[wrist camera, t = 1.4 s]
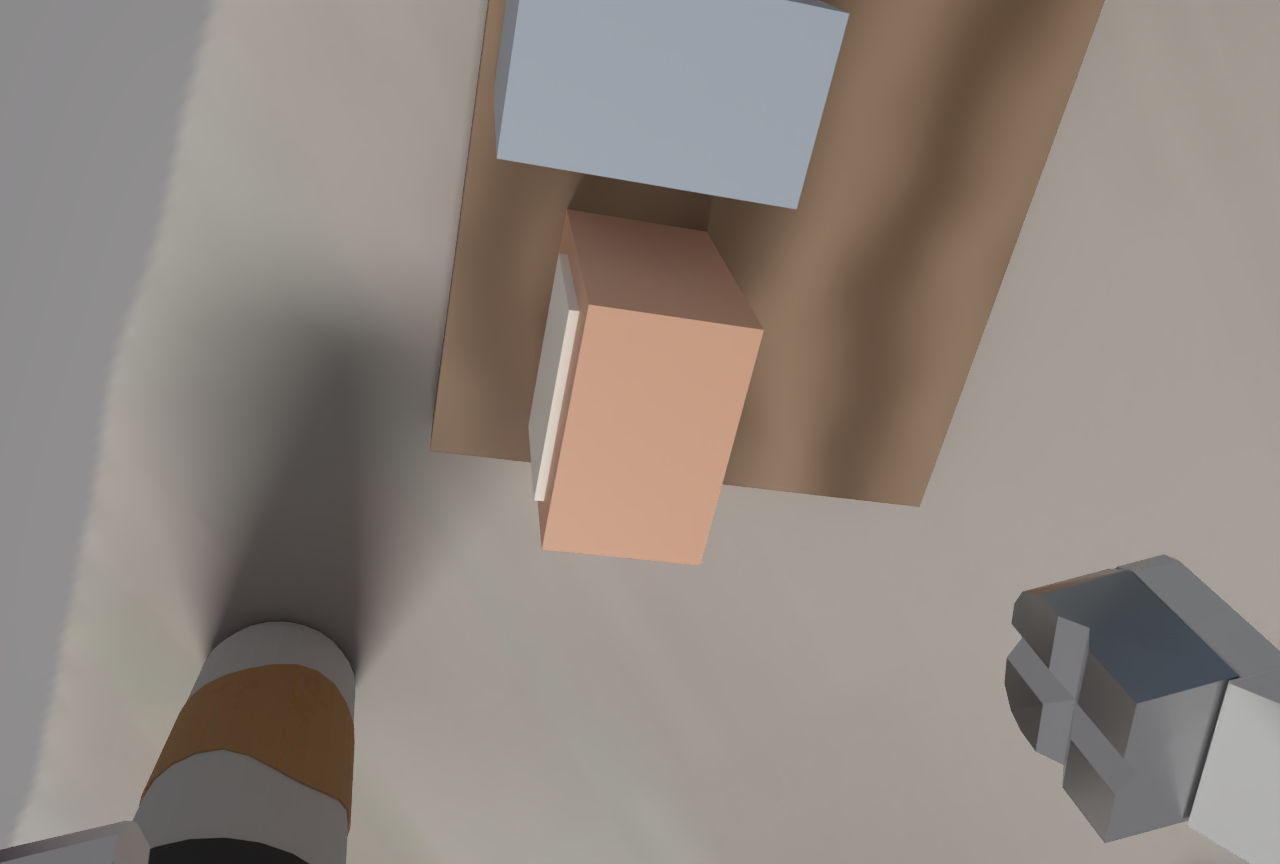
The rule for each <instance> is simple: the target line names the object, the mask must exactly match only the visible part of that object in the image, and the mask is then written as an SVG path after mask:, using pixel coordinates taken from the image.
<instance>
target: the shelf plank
mask: <svg viewBox="0 0 1280 864" xmlns="http://www.w3.org/2000/svg"><path fill="white" fill-rule="evenodd" d="M821 1H823V2H825V3H827V4H830V5H832V6H834V7H836V8H838V9H841V10H843V11H845V12H847V13H849V17H848V21H847V25H846V28H845V32H844V36H843V39H842V43H841V47H840V51H839V54H838V58H837V62H836V65H835V69H834V73H833V76H832V80H831V84H830V88H829V91H828V95H827V99H826V102H825V106H824V110H823V113H822V117H821V121H820V125H819V128H818V132H817V136H816V139H815V143H814V147H813V150H812V154H811V158H810V161H809V165H808V169H807V173H806V176H805V180H804V184H803V187H802V191H801V195H800V198H799V202H798V206H797V209H791V208H785V207H779V206H773V205H767V204H762V203H756V202H750V201H744V200H738V199H732V198H726V197H720V196H714V195H709V194H703V193H697V192H691V191H685V190H679V189H673V188H667V187H662V186H656V185H650V184H644V183H638V182H632V181H626V180H620V179H614V178H609V177H603V176H597V175H591V174H585V173H579V172H573V171H567V170H562V169H556V168H550V167H544V166H538V165H532V164H526V163H520V162H514V161H509V160H503V159H497V155H496V132H495V109H494V84H495V76H496V69H497V62H498V55H499V48H500V40H501V33H502V26H503V19H504V12H505V4H506V0H488V7H487V14H486V22H485V30H484V37H483V45H482V52H481V60H480V67H479V75H478V83H477V90H476V98H475V105H474V113H473V121H472V128H471V136H470V143H469V151H468V158H467V166H466V174H465V181H464V189H463V196H462V204H461V212H460V219H459V227H458V234H457V242H456V249H455V257H454V265H453V272H452V280H451V287H450V295H449V303H448V310H447V318H446V325H445V333H444V341H443V348H442V356H441V363H440V371H439V378H438V386H437V394H436V401H435V409H434V416H433V424H432V434H431V445H430V451H437V452H445V453H454V454H463V455H472V456H480V457H489V458H498V459H506V460H515V461H524V462H531V454H530V442H529V429H528V425H529V419H530V414H531V408H532V402H533V397H534V391H535V385H536V379H537V374H538V368H539V362H540V357H541V351H542V345H543V340H544V334H545V328H546V322H547V317H548V311H549V305H550V300H551V294H552V288H553V283H554V277H555V271H556V265H557V260H558V254H559V250H560V245H561V239H562V233H563V228H564V222H565V216H566V210H567V209H570V210H576V211H582V212H588V213H594V214H601V215H607V216H613V217H619V218H625V219H631V220H637V221H644V222H650V223H656V224H662V225H668V226H674V227H680V228H687V229H693V230H699V231H705V232H707V233H708V235H709V237H710V238H711V240H712V242H713V243H714V245H715V247H716V249H717V250H718V252H719V254H720V255H721V257H722V259H723V261H724V262H725V264H726V266H727V267H728V269H729V271H730V273H731V274H732V276H733V278H734V279H735V281H736V283H737V285H738V286H739V288H740V290H741V291H742V293H743V295H744V297H745V298H746V300H747V302H748V304H749V305H750V307H751V309H752V310H753V312H754V314H755V316H756V317H757V319H758V321H759V322H760V324H761V326H762V328H763V329H764V332H763V335H762V339H761V343H760V346H759V350H758V354H757V357H756V361H755V365H754V369H753V372H752V376H751V380H750V383H749V387H748V391H747V394H746V398H745V402H744V406H743V409H742V413H741V417H740V420H739V424H738V428H737V431H736V435H735V439H734V443H733V446H732V450H731V454H730V457H729V461H728V465H727V468H726V472H725V476H724V480H723V483H722V484H724V485H733V486H742V487H751V488H759V489H768V490H777V491H785V492H794V493H803V494H812V495H820V496H829V497H838V498H846V499H855V500H864V501H873V502H881V503H890V504H899V505H907V506H916V507H920V504H921V501H922V498H923V496H924V493H925V490H926V487H927V485H928V482H929V479H930V477H931V474H932V471H933V468H934V466H935V463H936V460H937V457H938V455H939V452H940V449H941V446H942V444H943V441H944V438H945V436H946V433H947V430H948V427H949V425H950V422H951V419H952V416H953V414H954V411H955V408H956V405H957V403H958V400H959V397H960V395H961V392H962V389H963V386H964V384H965V381H966V378H967V375H968V373H969V370H970V367H971V365H972V362H973V359H974V356H975V354H976V351H977V348H978V345H979V343H980V340H981V337H982V334H983V332H984V329H985V326H986V324H987V321H988V318H989V315H990V313H991V310H992V307H993V304H994V302H995V299H996V296H997V293H998V291H999V288H1000V285H1001V283H1002V280H1003V277H1004V274H1005V272H1006V269H1007V266H1008V263H1009V261H1010V258H1011V255H1012V252H1013V250H1014V247H1015V244H1016V242H1017V239H1018V236H1019V233H1020V231H1021V228H1022V225H1023V222H1024V220H1025V217H1026V214H1027V212H1028V209H1029V206H1030V203H1031V201H1032V198H1033V195H1034V192H1035V190H1036V187H1037V184H1038V181H1039V179H1040V176H1041V173H1042V171H1043V168H1044V165H1045V162H1046V160H1047V157H1048V154H1049V151H1050V149H1051V146H1052V143H1053V140H1054V138H1055V135H1056V132H1057V130H1058V127H1059V124H1060V121H1061V119H1062V116H1063V113H1064V110H1065V108H1066V105H1067V102H1068V99H1069V97H1070V94H1071V91H1072V89H1073V86H1074V83H1075V80H1076V78H1077V75H1078V72H1079V69H1080V67H1081V64H1082V61H1083V59H1084V56H1085V53H1086V50H1087V48H1088V45H1089V42H1090V39H1091V37H1092V34H1093V31H1094V28H1095V26H1096V23H1097V20H1098V18H1099V15H1100V12H1101V9H1102V7H1103V4H1104V1H1105V0H821Z"/></svg>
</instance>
